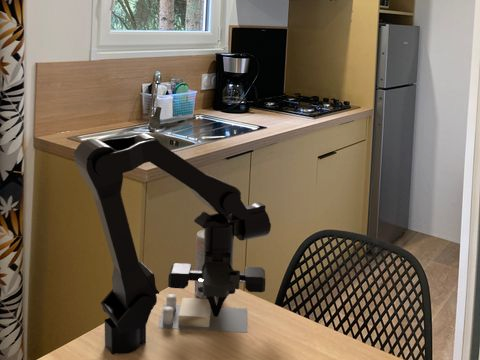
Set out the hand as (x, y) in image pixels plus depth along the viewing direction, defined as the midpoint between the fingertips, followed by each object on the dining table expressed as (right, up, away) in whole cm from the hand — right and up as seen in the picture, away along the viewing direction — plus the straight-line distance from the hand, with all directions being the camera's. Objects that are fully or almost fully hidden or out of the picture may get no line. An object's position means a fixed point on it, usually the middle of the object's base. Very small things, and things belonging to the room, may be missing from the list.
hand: (215, 315), depth 108 cm
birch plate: (-4, 0, 0) cm, 4 cm away
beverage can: (-2, +1, +11) cm, 11 cm away
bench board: (-2, -1, 0) cm, 3 cm away
